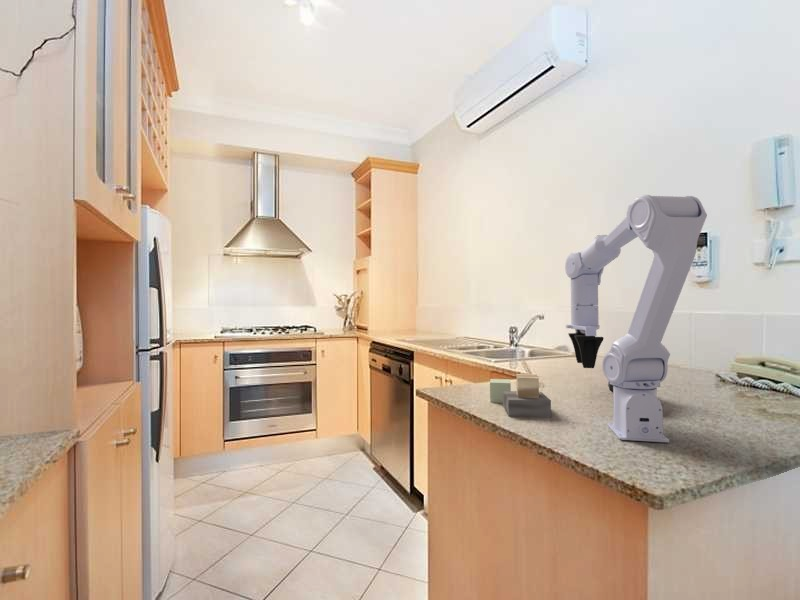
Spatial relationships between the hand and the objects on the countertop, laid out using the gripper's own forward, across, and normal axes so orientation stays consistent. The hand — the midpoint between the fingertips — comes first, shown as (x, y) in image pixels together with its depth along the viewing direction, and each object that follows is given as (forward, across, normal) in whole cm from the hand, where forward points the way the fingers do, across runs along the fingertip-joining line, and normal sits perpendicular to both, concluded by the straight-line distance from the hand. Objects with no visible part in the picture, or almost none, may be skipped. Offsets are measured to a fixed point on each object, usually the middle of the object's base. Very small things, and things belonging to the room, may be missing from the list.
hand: (585, 365), depth 95 cm
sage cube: (+10, -7, -19) cm, 23 cm away
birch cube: (+7, +3, -13) cm, 15 cm away
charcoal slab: (+11, +3, -13) cm, 17 cm away
